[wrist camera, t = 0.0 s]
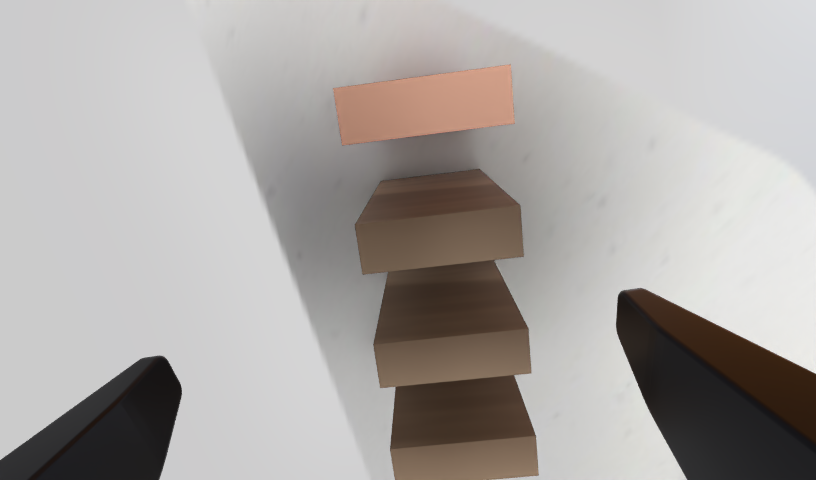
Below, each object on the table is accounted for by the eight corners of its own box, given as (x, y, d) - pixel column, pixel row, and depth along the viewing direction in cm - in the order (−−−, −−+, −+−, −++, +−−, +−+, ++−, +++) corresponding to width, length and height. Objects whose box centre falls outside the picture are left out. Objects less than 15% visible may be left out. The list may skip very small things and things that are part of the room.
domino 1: (475, 120, 23) (514, 123, 14) (374, 133, 24) (342, 145, 14) (472, 86, 23) (510, 64, 13) (369, 99, 23) (333, 88, 13)
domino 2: (482, 200, 24) (523, 256, 15) (385, 211, 24) (362, 274, 15) (479, 168, 24) (520, 205, 14) (380, 181, 24) (354, 224, 14)
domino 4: (494, 342, 26) (538, 475, 17) (404, 351, 26) (396, 487, 17) (492, 315, 26) (535, 435, 16) (401, 325, 26) (390, 449, 16)
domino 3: (488, 274, 25) (531, 373, 16) (395, 284, 25) (380, 388, 16) (486, 245, 25) (528, 328, 15) (391, 256, 25) (373, 344, 15)
